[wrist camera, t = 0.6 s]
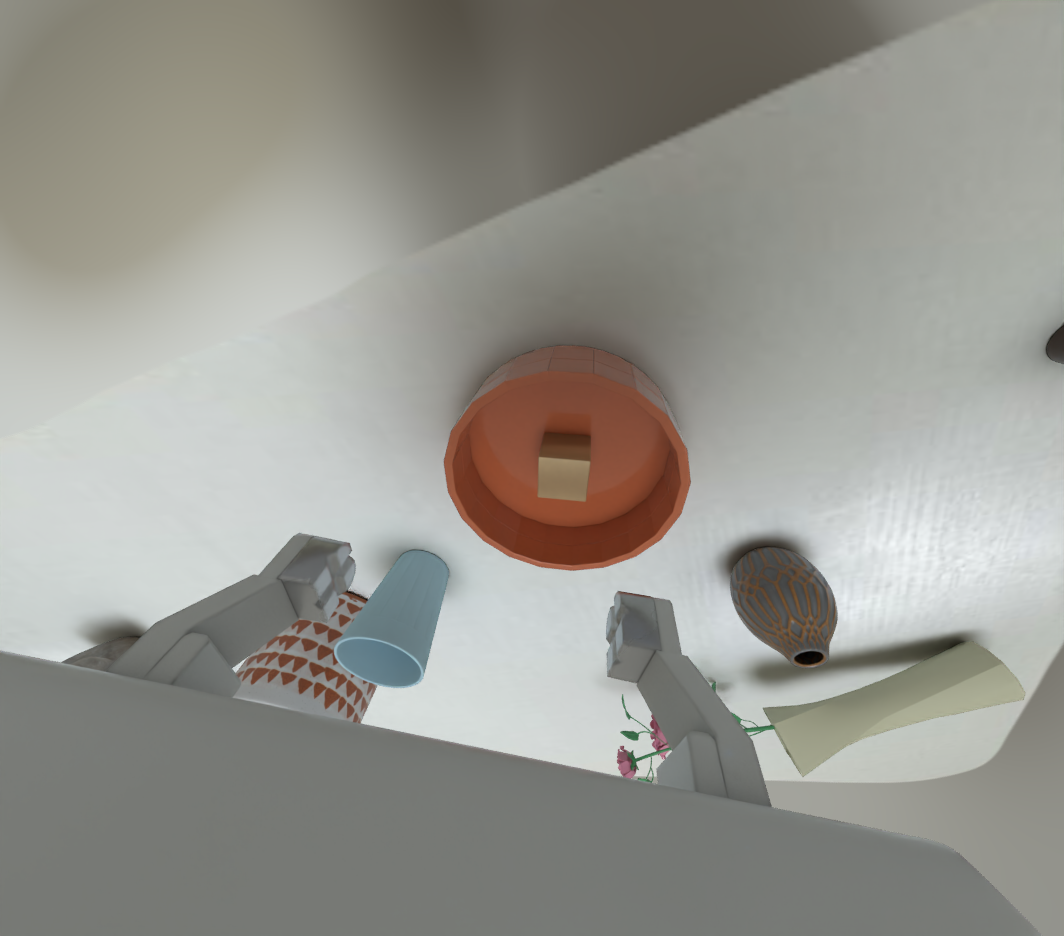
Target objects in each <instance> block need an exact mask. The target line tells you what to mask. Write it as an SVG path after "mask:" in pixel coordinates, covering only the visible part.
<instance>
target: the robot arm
mask: <svg viewBox="0 0 1064 936" xmlns="http://www.w3.org/2000/svg"><path fill="white" fill-rule="evenodd" d="M351 551H352V549H351V546H350V543H347V542H342V541H337V540H332V539H327V538H322V537H317V536H313V535H307V534H302V533H298V534H297V535H295V536H293V537H292V538H291V539H290V540H289V542H288V543H287V544H286V545H285V546H284V547H283V548H282V549H281V551H280V552H279V553H278V554H277V555H276V556H275V557H274V558H273V560H272V561H271V562H270V563H269V564H268V565H267V566H266V567H265V568H264V570H263V571H262V572H261V573H260V574H259V575H252V576H250V577H248V578H246V579H244V580H242V581H240V582H238V583H236V584H234V585H231V586H229V587H227V588H225V589H223V590H221V591H219V592H217V593H215V594H213V595H211V596H209V597H207V598H205V599H203V600H201V601H199V602H197V603H195V604H193V605H191V606H189V607H187V608H185V609H183V610H181V611H179V612H177V613H175V614H173V615H171V616H169V617H167V618H165V619H162V620H160V621H158V622H156V623H155V624H154V625H153V626H152V627H151V628H150V629H149V630H148V631H147V632H145V633H144V634H143V635H142V636H141V637H140V638H139V639H138V640H137V641H136V642H135V643H134V644H133V645H132V646H131V647H130V648H129V649H128V650H127V651H126V652H125V653H124V654H123V655H122V656H121V657H120V658H119V659H118V660H117V661H116V662H114V663H113V664H112V665H111V666H110V667H109V668H108V669H107V670H106V671H105V672H104V671H100V670H95V669H90V668H85V667H80V666H75V665H70V664H65V663H60V662H55V661H50V660H45V659H40V658H35V657H30V656H25V655H20V654H15V653H10V652H5V651H0V936H1042V935H1041V933H1040V932H1038V930H1037V929H1036V928H1034V926H1033V925H1032V924H1031V923H1030V922H1029V921H1028V920H1027V919H1026V918H1025V917H1024V916H1023V915H1022V914H1021V913H1020V912H1019V911H1018V910H1017V909H1016V908H1015V907H1014V906H1013V905H1012V904H1011V903H1010V902H1009V901H1008V900H1007V899H1006V898H1005V897H1004V896H1003V895H1002V894H1001V893H1000V892H999V891H998V890H997V889H996V888H995V887H994V886H993V885H992V884H991V883H990V882H989V881H988V880H987V879H986V878H985V877H984V876H982V874H981V873H980V872H979V871H978V870H977V869H975V868H974V867H973V866H972V865H971V864H970V863H969V862H968V861H967V860H966V859H965V858H964V857H963V856H961V855H960V854H959V853H958V852H956V851H955V850H954V849H952V848H950V847H948V846H947V845H945V844H942V843H939V842H936V841H933V840H929V839H925V838H920V837H915V836H910V835H905V834H900V833H895V832H890V831H886V830H881V829H875V828H871V827H866V826H861V825H856V824H851V823H846V822H841V821H836V820H831V819H827V818H822V817H817V816H812V815H806V814H802V813H797V812H792V811H787V810H782V809H778V808H773V807H771V803H770V799H769V796H768V792H767V789H766V785H765V782H764V778H763V775H762V771H761V768H760V764H759V761H758V758H757V754H756V751H755V747H754V744H753V741H752V739H751V738H750V737H749V735H748V734H747V733H746V732H745V730H744V729H743V728H742V726H741V725H740V724H739V723H738V721H737V720H736V719H735V717H734V716H733V715H732V713H731V712H730V711H729V710H728V708H727V707H726V706H725V704H724V703H723V702H722V700H721V699H720V698H719V697H718V695H717V694H716V693H715V691H714V690H713V689H712V688H711V686H710V685H709V684H708V682H707V681H706V680H705V678H704V677H703V676H702V675H701V673H700V672H699V671H698V669H697V668H696V667H695V665H694V664H693V663H692V662H691V660H690V659H689V658H688V656H685V655H682V653H681V647H680V642H679V637H678V632H677V627H676V622H675V617H674V611H673V606H672V603H671V602H670V600H665V599H659V598H653V597H651V596H645V595H639V594H633V593H627V592H621V591H618V592H617V593H616V595H615V598H614V606H612V607H611V608H610V611H609V614H608V618H607V626H606V639H607V641H608V642H609V644H610V647H609V650H608V652H607V677H611V678H615V679H620V680H624V681H629V682H633V683H637V687H638V688H639V690H640V692H641V694H642V696H643V698H644V700H645V701H646V703H647V705H648V707H649V709H650V711H651V713H652V714H653V716H654V718H655V720H656V722H657V724H658V726H659V727H660V729H661V731H662V733H663V735H664V737H665V739H666V740H667V742H668V744H669V746H670V748H671V750H672V752H671V753H670V754H669V755H668V757H667V758H666V759H665V760H664V761H663V762H662V763H661V764H660V766H659V767H658V768H657V778H658V784H654V783H650V782H645V781H640V780H635V779H630V778H625V777H620V776H616V775H611V774H606V773H601V772H596V771H591V770H586V769H581V768H576V767H571V766H566V765H562V764H557V763H552V762H547V761H542V760H537V759H532V758H527V757H522V756H517V755H512V754H508V753H503V752H498V751H493V750H488V749H483V748H478V747H473V746H468V745H463V744H458V743H454V742H449V741H444V740H439V739H434V738H429V737H424V736H419V735H414V734H409V733H404V732H400V731H395V730H390V729H385V728H380V727H375V726H370V725H365V724H360V723H355V722H350V721H346V720H341V719H336V718H331V717H326V716H321V715H316V714H311V713H306V712H301V711H296V710H291V709H286V708H282V707H277V706H272V705H267V704H262V703H257V702H252V701H247V700H242V699H237V698H232V697H233V696H234V695H235V693H236V692H237V690H238V689H239V688H240V686H241V682H240V679H239V678H238V676H237V675H236V674H235V672H234V671H233V669H232V668H233V667H234V666H236V665H237V664H239V663H240V662H241V661H243V660H244V659H245V658H247V657H248V656H250V655H251V654H252V653H254V652H255V651H257V650H258V649H259V648H261V647H262V646H263V645H265V644H266V643H268V642H269V641H270V640H272V639H273V638H275V637H276V636H277V635H279V634H280V633H282V632H283V631H284V630H286V629H287V628H288V627H290V626H291V625H293V624H294V623H295V622H297V621H298V620H299V619H306V620H312V621H318V622H324V623H327V622H328V620H329V619H330V617H331V616H332V614H333V612H334V611H335V609H336V608H337V606H338V605H339V598H338V596H339V595H341V594H342V593H344V592H346V591H347V590H348V588H349V587H350V585H351V583H352V581H353V578H354V575H355V571H356V565H355V560H354V559H353V558H352V557H350V556H349V554H350V553H351ZM298 618H299V619H298Z"/></svg>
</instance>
